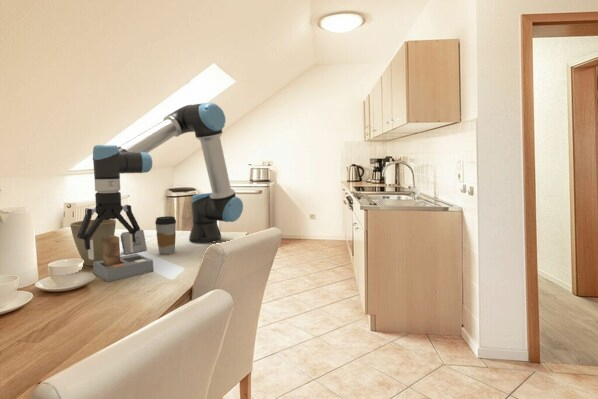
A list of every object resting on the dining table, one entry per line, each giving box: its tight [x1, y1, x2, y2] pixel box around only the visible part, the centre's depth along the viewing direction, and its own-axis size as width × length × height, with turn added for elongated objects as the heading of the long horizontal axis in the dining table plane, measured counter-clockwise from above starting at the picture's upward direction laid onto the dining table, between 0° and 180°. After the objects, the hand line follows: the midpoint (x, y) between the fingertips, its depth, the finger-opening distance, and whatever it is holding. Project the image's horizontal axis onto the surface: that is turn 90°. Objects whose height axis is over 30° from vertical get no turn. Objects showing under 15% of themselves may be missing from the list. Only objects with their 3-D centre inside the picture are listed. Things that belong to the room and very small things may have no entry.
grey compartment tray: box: [92, 253, 154, 282], centre depth 124 cm, size 15×13×4 cm
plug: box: [102, 235, 121, 267], centre depth 121 cm, size 4×4×12 cm
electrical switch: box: [119, 229, 148, 255], centre depth 153 cm, size 9×5×9 cm, turn 141°
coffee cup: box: [154, 215, 177, 255], centre depth 151 cm, size 8×8×15 cm
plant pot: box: [69, 219, 117, 267], centre depth 135 cm, size 15×15×16 cm
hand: (111, 255), depth 121 cm, fingers open, 12 cm apart
